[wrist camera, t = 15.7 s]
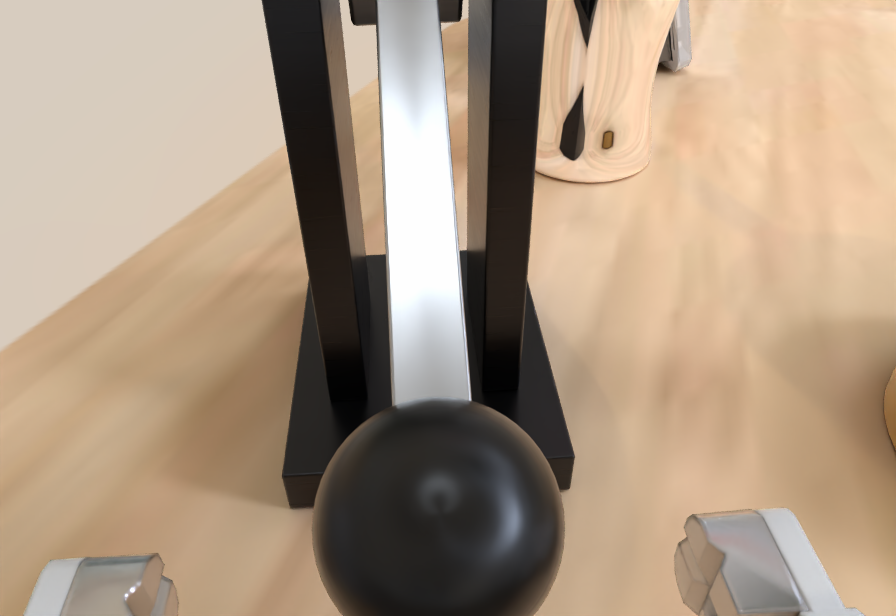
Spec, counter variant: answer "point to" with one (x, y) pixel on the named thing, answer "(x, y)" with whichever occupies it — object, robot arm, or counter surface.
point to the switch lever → (430, 392)
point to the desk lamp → (891, 407)
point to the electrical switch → (678, 40)
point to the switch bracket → (364, 276)
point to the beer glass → (599, 87)
